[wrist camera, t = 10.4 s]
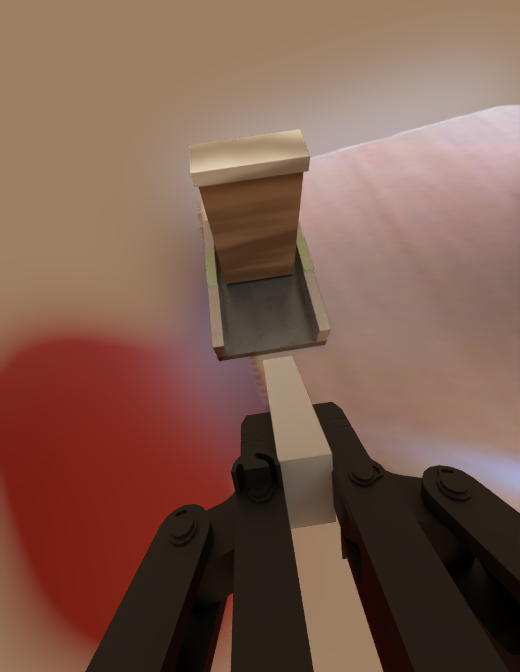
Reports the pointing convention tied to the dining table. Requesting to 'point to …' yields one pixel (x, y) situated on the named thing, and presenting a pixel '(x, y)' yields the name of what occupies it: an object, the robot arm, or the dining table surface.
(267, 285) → the track
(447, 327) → the dining table surface
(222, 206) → the brown wooden tall block
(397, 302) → the dining table surface
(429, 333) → the dining table surface
